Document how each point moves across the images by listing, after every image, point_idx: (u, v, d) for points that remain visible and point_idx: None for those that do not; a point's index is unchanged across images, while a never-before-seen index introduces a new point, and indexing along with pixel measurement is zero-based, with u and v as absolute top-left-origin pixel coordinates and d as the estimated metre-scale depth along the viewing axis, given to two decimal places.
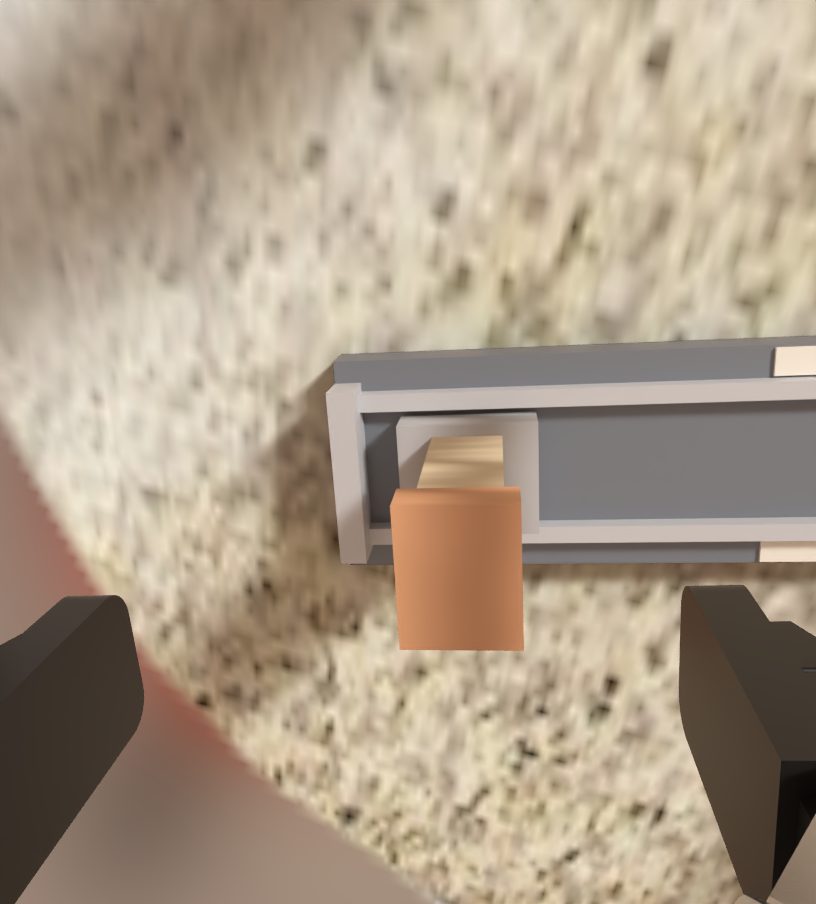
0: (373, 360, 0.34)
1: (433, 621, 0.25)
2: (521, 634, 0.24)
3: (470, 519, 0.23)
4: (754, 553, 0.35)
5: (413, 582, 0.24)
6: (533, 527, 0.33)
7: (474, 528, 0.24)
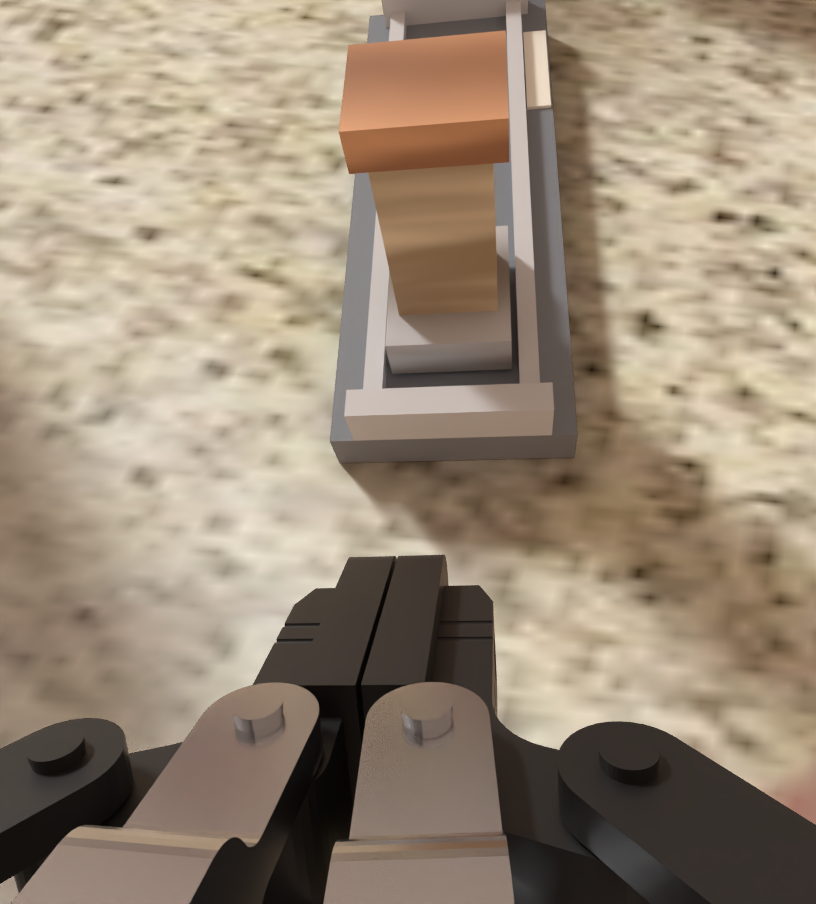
0: (334, 404, 0.33)
1: (472, 94, 0.23)
2: (487, 33, 0.24)
3: (359, 75, 0.24)
4: (544, 111, 0.39)
5: (426, 111, 0.23)
6: (500, 230, 0.33)
7: (369, 72, 0.24)
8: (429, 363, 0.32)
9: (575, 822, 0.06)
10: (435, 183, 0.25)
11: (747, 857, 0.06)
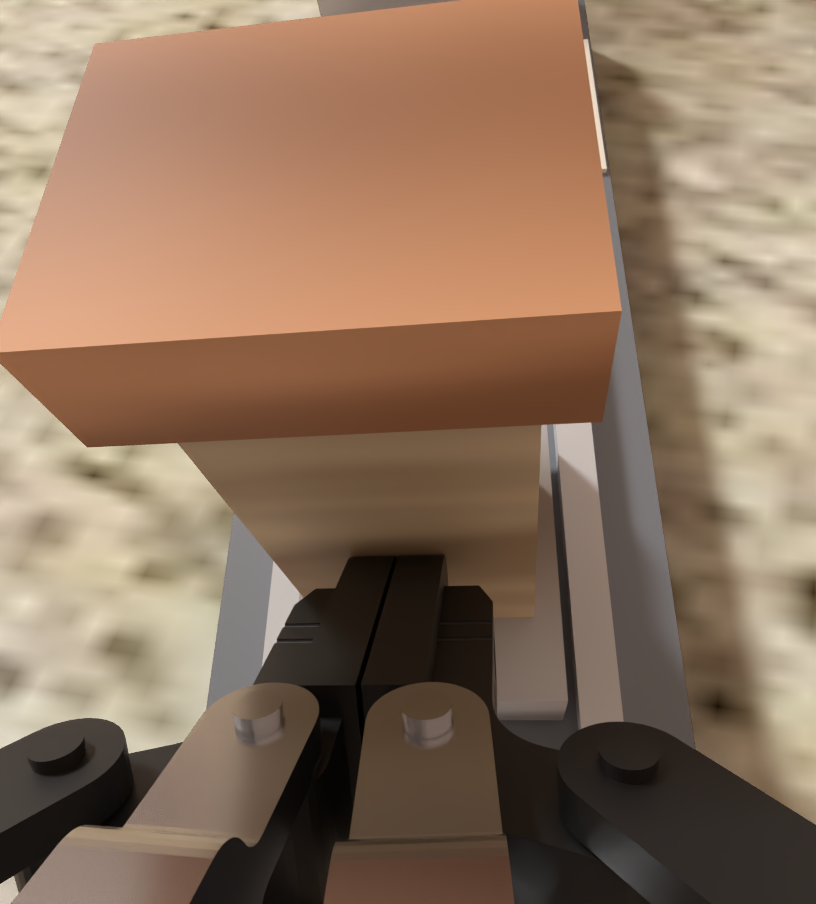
0: None
1: (476, 207, 0.06)
2: None
3: (106, 138, 0.07)
4: None
5: (306, 273, 0.06)
6: None
7: (138, 128, 0.07)
8: None
9: (575, 822, 0.06)
10: (368, 444, 0.08)
11: (747, 857, 0.06)
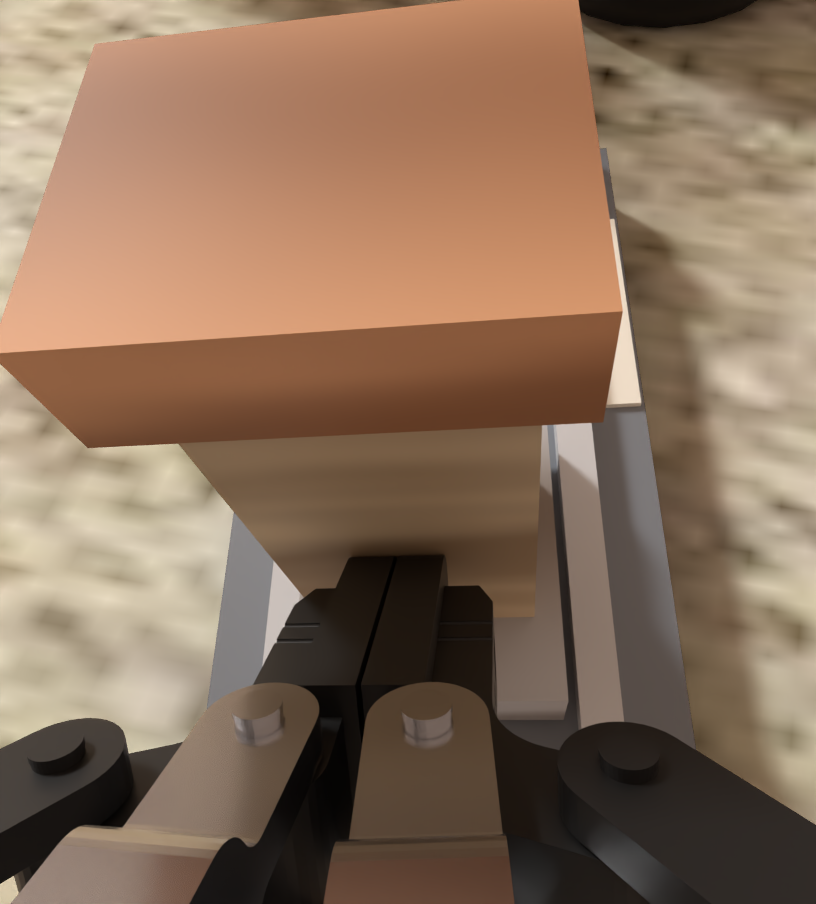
0: None
1: (476, 208, 0.06)
2: None
3: (106, 139, 0.07)
4: (626, 414, 0.19)
5: (306, 274, 0.06)
6: None
7: (138, 129, 0.07)
8: None
9: (575, 822, 0.06)
10: (369, 444, 0.08)
11: (747, 857, 0.06)
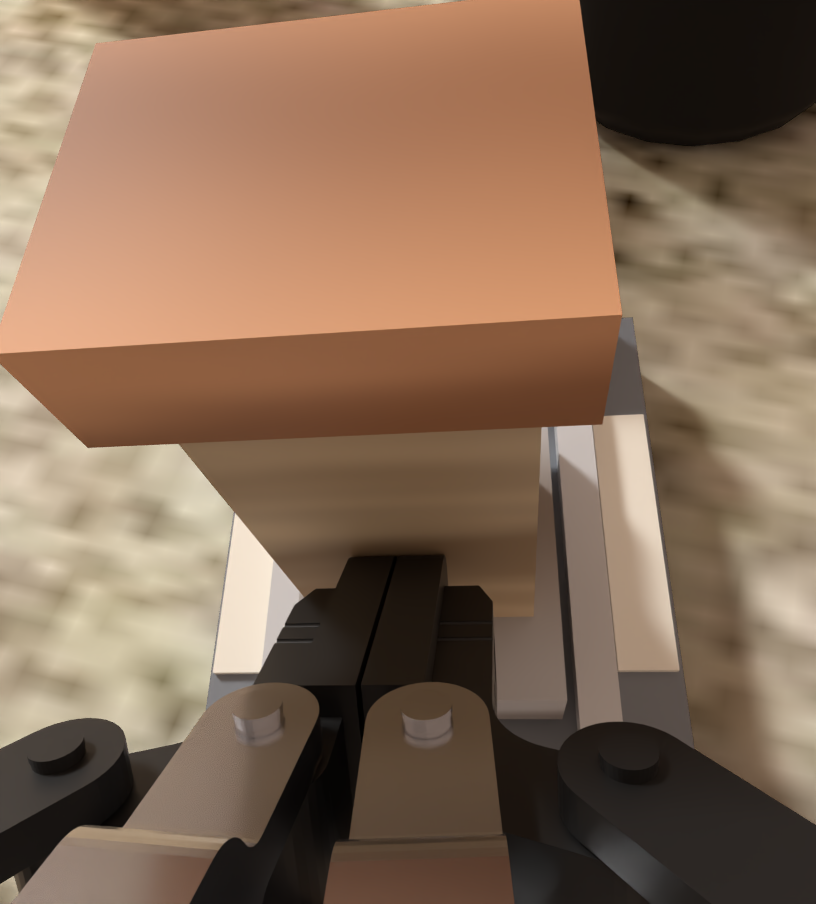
0: None
1: (477, 210, 0.06)
2: None
3: (107, 139, 0.07)
4: (661, 681, 0.16)
5: (306, 275, 0.06)
6: None
7: (139, 129, 0.07)
8: None
9: (575, 822, 0.06)
10: (368, 445, 0.09)
11: (747, 857, 0.06)
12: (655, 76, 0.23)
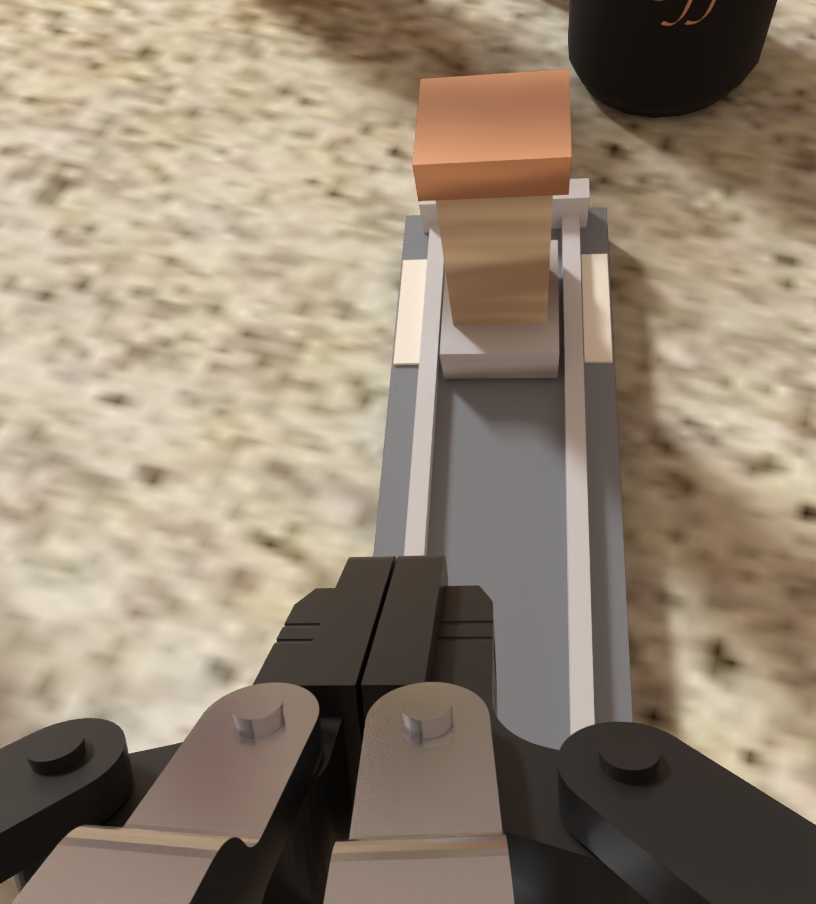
0: None
1: (537, 132, 0.25)
2: (551, 71, 0.26)
3: (431, 109, 0.26)
4: (604, 366, 0.34)
5: (493, 147, 0.24)
6: (550, 244, 0.34)
7: (440, 107, 0.26)
8: (479, 370, 0.34)
9: (575, 823, 0.06)
10: (497, 210, 0.27)
11: (747, 857, 0.06)
12: (631, 77, 0.40)
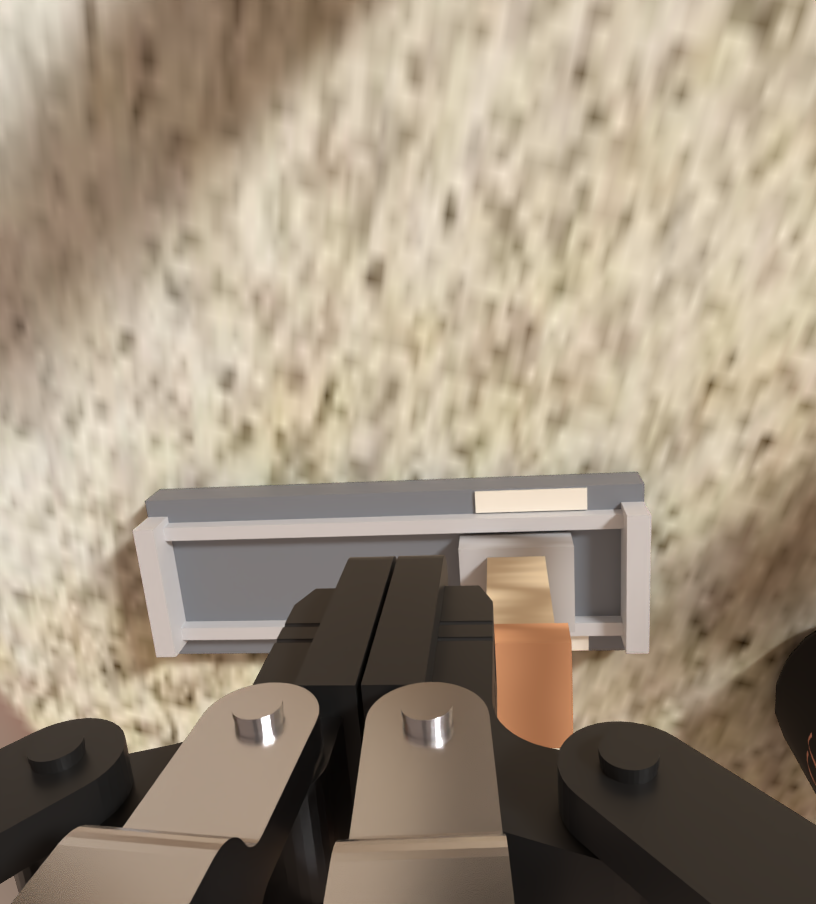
0: (176, 499, 0.44)
1: None
2: None
3: (533, 653, 0.31)
4: None
5: None
6: (570, 627, 0.41)
7: (536, 659, 0.31)
8: None
9: (575, 822, 0.06)
10: None
11: (747, 857, 0.06)
12: (796, 680, 0.42)
